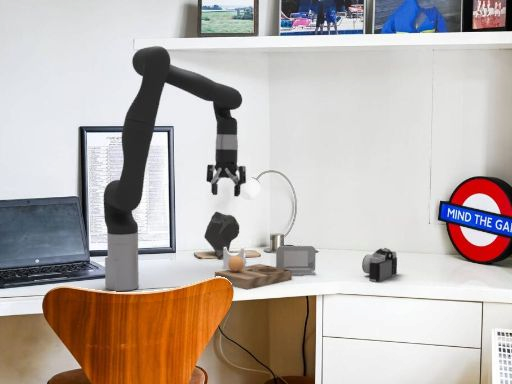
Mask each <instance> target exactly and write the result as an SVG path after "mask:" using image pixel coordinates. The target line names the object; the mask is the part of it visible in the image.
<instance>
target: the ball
mask: <svg viewBox="0 0 512 384" xmlns="http://www.w3.org/2000/svg"><path fill="white" fill-rule="evenodd" d="M228 266H229V268H230V270H232V271H234V272H238V271H240V270H241V269H242V268H243V266H244V267H245V264H244V262H243V260H242V259H241V258H240V257H238V256H234V257H232V258H230V260H229V262H228Z"/></svg>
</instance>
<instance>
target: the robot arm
mask: <svg viewBox="0 0 512 384" xmlns="http://www.w3.org/2000/svg"><path fill="white" fill-rule="evenodd" d="M131 64H132V67H133V70H134V71H135V73H136V74H138V75H139V76H140V77H142V78H141V79H142V80H141V84H140V87H139V89H138V92H137V94H136V96H135V98H134V99H133V101H132V103H131V104H130V106H129V108H128V109H127V111H126V115H125V117H124V122H123V127H122V130H121V149H122V154H123V155H122V156H123V165H122V169H121V173H120V177H119V179H115V180H112V181H110V182H109V183H108V184H107V185H106V186H105V189H104V192H103V215H104V217H103V218H104V223H105V226H106V230H107V232H106V233H107V234H106V236H107V239H106V240H107V241H106V242H107V256H106V257H105V258H104V268H105V269H104V271H105V272H104V275H105V278H104V279H105V281H104V282H105V286H104V287H105V289H106V290H107V289H108V290H111V291H114V292H121V291H124V292H125V291H126V292H127V291H133V290H135V289H138V288H139V285H140V284H139V282H140V281H139V280H140V279H139V225H138V223H137V221H136V220H135V218H134V216H133V211H134V210H136V209H137V208H138V207H139V205H140V204H141V202H142V198H143V192H144V183H145V173H146V167H147V162H148V157H149V154H150V147H151V143H152V139H153V135H154V133H155V132H154V131H155V126H156V121H157V116H158V111H159V107H160V103H161V102H160V101H161V97H162V94H163V91H164V87H165V84H168V85H171V86H173V87H175V88H178V89H179V90H182V91H185V92H187V93H188V94H190V95H193V96H195V97H196V98H200V99H201V100H204V101H206V102H212V107H213V111H214V112H213V113H214V117H215V121H216V138H215V155H214V157H215V158H214V160H215V164H207V167H206V177H205V178H206V182H207V183H209V184H211V185H210V187H211V189H210V191H211V192H210V193H211V194H212V196H217V195H218V187H219V186H218V185H219V184H218V182H220V180H221V179H222V178H223V179H224V178H226V179H230V180H231V181H232V182H233V184H234V187H233V188H234V189H233V197H236V198H237V197H240V195H241V186H242V185H244V184H246V183H247V174H246V173H247V172H246V171H247V169H246V168H247V167H246V165H239V166H238V151H239V149H238V148H239V145H238V144H239V143H238V121H237V119H236V118H235V117H232V113H231V111H234V110H237V109H239V108H240V107H241V106H242V103H243V96H242V94H241V93H240V91H238V90H237V89H236V88H234V87H232V86H229V85H226V84H223V83H218V82H216V81H214V80H212V79H210V78H208V77H206V76H204V75H202V74H200V73H197V72H195V71H192V70H188V69H185V68H181V67H178V66H176V65H173V64H172V63H171V56H170V54H169V52H168V50H167V49H166V48H165V47H163V46H160V45H159V46H158V45H153V46H147V47H143V48H140V49H139V50H137V51H136V52H135V53H134V54H133V56H132V62H131ZM214 172H215V174H214ZM237 172H238V174H239V176H238V174H237Z"/></svg>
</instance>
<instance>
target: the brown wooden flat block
mask: <svg viewBox="0 0 512 384" xmlns="http://www.w3.org/2000/svg"><path fill="white" fill-rule="evenodd" d="M216 276H221V277H225V278H227V279H228V280H229V281H230V282H231V283H232V285H233V286H232V287H236V288H241V289H245V290H250V289H255V288H258V287H264V286H269V285H273V284H278V283H283V282H286V281H291V280H292V279H293V278H292V277H293V276H292V270H287V269H282V268H277V267H276V266H272V265H266V264H261V263H257V264H253V265H252V264H251V265H246V266H244V267H243V268H242V269H241V270H240V271H238V272H234V271H232V270H230V269H223V270H220V271H214V278H215V277H216Z"/></svg>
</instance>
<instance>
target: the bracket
mask: <svg viewBox="0 0 512 384" xmlns="http://www.w3.org/2000/svg"><path fill="white" fill-rule="evenodd" d="M234 256H238V257H240V258H241V259H242V260H243V262H244V266H243V267H245V263H246V260H247V259H246V257H247V254H246V253H245V247H242V246H241V247H240V251H239V252H230V251H229V252H228V250H227V247H224V248H223V260H222V261H223V262H222V263H223V266H222V268H223V270H229V269H230V268H229V266H228V262H229V260H230V258H232V257H234Z"/></svg>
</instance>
